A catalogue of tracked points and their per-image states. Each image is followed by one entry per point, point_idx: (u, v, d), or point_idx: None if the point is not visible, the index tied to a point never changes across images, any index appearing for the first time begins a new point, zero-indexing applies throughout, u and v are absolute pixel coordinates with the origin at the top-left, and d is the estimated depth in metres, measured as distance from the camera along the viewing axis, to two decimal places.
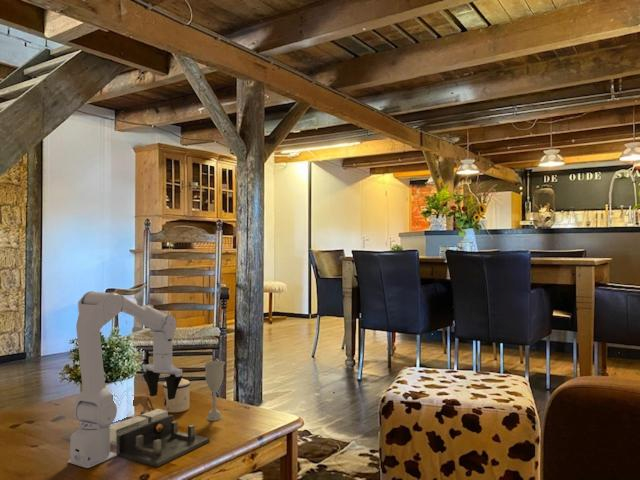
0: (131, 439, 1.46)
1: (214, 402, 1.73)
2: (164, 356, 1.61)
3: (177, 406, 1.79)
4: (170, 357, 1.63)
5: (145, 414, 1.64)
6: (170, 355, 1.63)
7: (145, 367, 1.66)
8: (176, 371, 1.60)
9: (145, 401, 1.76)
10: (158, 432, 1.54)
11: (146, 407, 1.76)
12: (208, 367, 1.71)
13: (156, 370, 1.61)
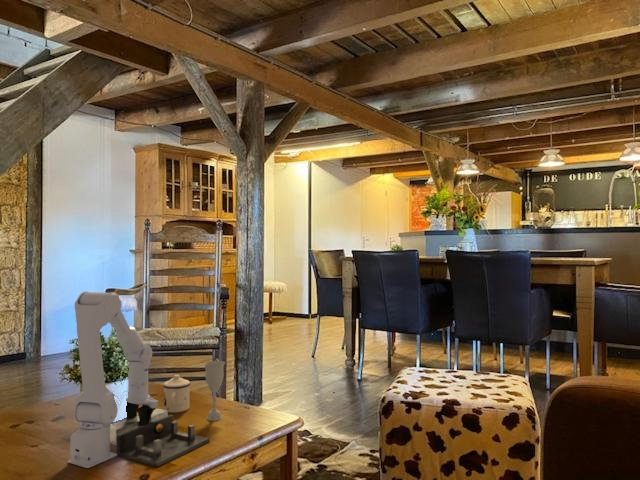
0: (131, 439, 1.46)
1: (214, 402, 1.73)
2: (139, 387, 1.57)
3: (177, 406, 1.79)
4: (146, 387, 1.59)
5: None
6: (146, 385, 1.59)
7: None
8: (151, 402, 1.56)
9: None
10: (158, 432, 1.54)
11: None
12: (208, 367, 1.71)
13: (131, 401, 1.57)
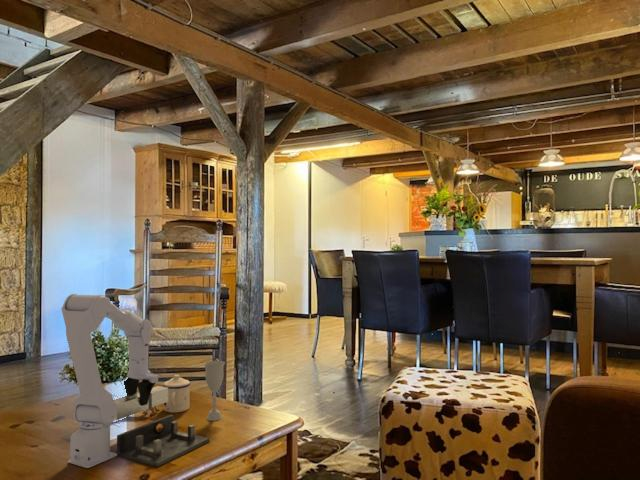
0: (131, 439, 1.46)
1: (214, 402, 1.73)
2: (139, 362, 1.57)
3: (177, 406, 1.79)
4: (146, 362, 1.59)
5: None
6: (146, 360, 1.59)
7: None
8: (151, 377, 1.56)
9: None
10: (158, 432, 1.54)
11: None
12: (208, 367, 1.71)
13: (131, 376, 1.57)
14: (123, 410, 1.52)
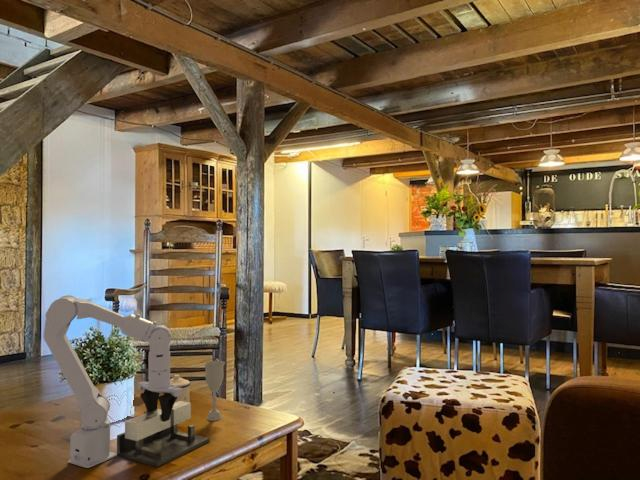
0: None
1: (214, 402, 1.73)
2: (161, 373, 1.43)
3: None
4: (168, 374, 1.45)
5: None
6: (168, 372, 1.45)
7: (139, 385, 1.48)
8: (175, 390, 1.42)
9: None
10: (158, 432, 1.54)
11: None
12: (208, 367, 1.71)
13: (152, 389, 1.43)
14: (144, 430, 1.38)
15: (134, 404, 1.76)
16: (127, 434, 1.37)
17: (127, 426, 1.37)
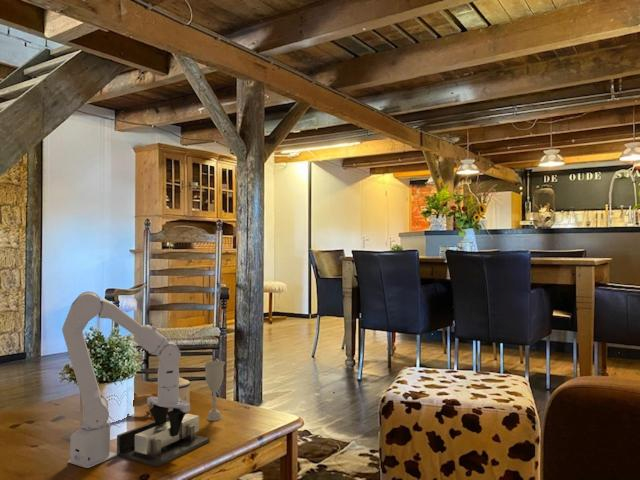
0: (131, 439, 1.46)
1: (214, 402, 1.73)
2: (170, 389, 1.46)
3: None
4: (176, 390, 1.47)
5: None
6: (176, 388, 1.47)
7: (149, 400, 1.50)
8: (183, 406, 1.44)
9: None
10: None
11: (152, 407, 1.77)
12: (208, 367, 1.71)
13: (161, 405, 1.45)
14: None
15: (136, 404, 1.76)
16: (137, 447, 1.40)
17: (137, 439, 1.40)
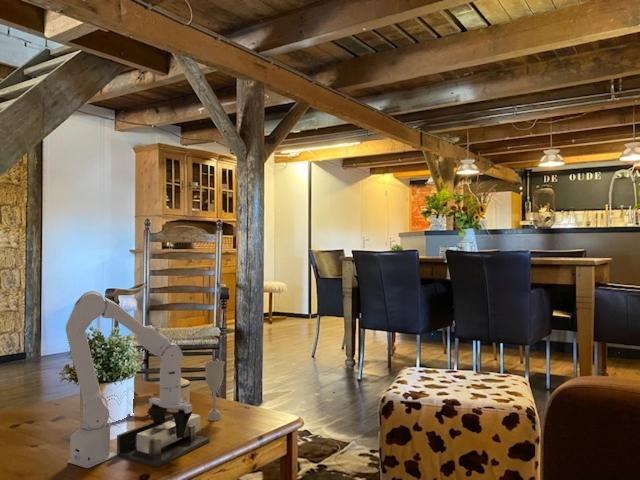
0: (131, 439, 1.46)
1: (214, 402, 1.73)
2: (172, 390, 1.46)
3: None
4: (178, 391, 1.48)
5: None
6: (178, 388, 1.48)
7: (151, 401, 1.51)
8: (185, 407, 1.45)
9: None
10: None
11: None
12: (208, 367, 1.71)
13: (163, 405, 1.46)
14: None
15: (137, 404, 1.76)
16: (139, 446, 1.41)
17: (139, 439, 1.41)
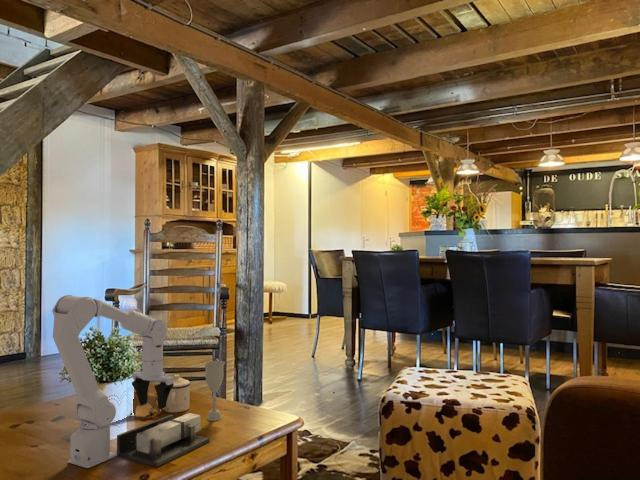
0: (131, 439, 1.46)
1: (214, 402, 1.73)
2: (154, 363, 1.53)
3: (177, 406, 1.79)
4: (160, 364, 1.55)
5: (177, 419, 1.53)
6: (160, 362, 1.55)
7: (134, 374, 1.58)
8: (166, 379, 1.52)
9: (154, 400, 1.77)
10: None
11: (155, 406, 1.77)
12: (208, 367, 1.71)
13: (145, 378, 1.53)
14: None
15: (139, 404, 1.77)
16: (139, 446, 1.41)
17: (139, 439, 1.41)
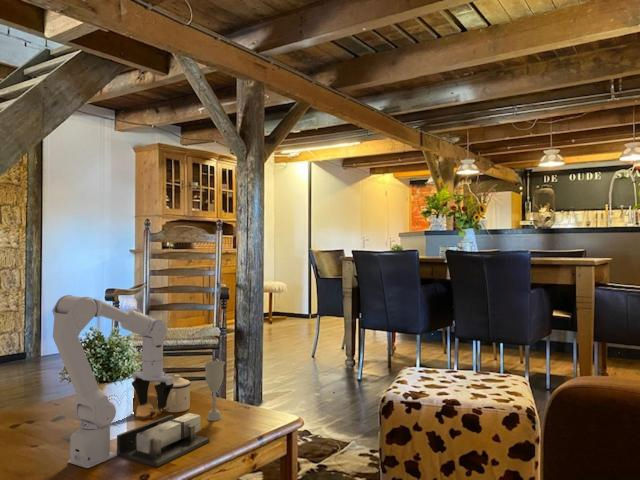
0: (131, 439, 1.46)
1: (214, 402, 1.73)
2: (154, 363, 1.53)
3: (177, 406, 1.79)
4: (160, 364, 1.55)
5: (177, 419, 1.53)
6: (160, 362, 1.55)
7: (134, 374, 1.58)
8: (166, 379, 1.52)
9: (155, 400, 1.77)
10: None
11: (156, 406, 1.77)
12: (208, 367, 1.71)
13: (145, 378, 1.53)
14: None
15: None
16: (139, 446, 1.41)
17: (139, 439, 1.41)
